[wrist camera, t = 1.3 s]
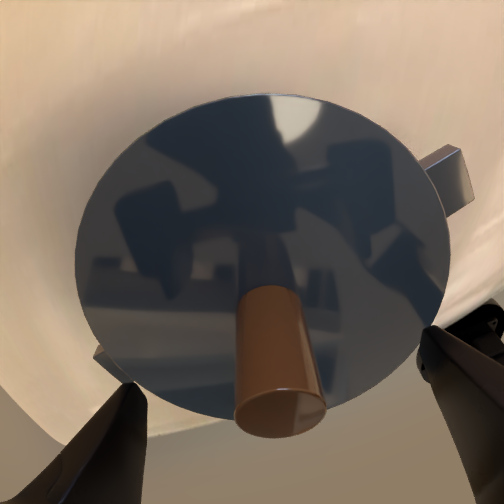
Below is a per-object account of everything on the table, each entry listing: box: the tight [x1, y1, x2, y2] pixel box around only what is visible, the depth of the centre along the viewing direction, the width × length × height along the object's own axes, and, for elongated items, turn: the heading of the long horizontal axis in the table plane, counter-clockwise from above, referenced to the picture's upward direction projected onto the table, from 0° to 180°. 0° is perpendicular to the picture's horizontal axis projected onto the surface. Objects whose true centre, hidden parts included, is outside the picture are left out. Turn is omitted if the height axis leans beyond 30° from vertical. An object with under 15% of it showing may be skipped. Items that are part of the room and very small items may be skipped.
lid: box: [75, 93, 451, 438], centre depth 10 cm, size 15×15×6 cm
